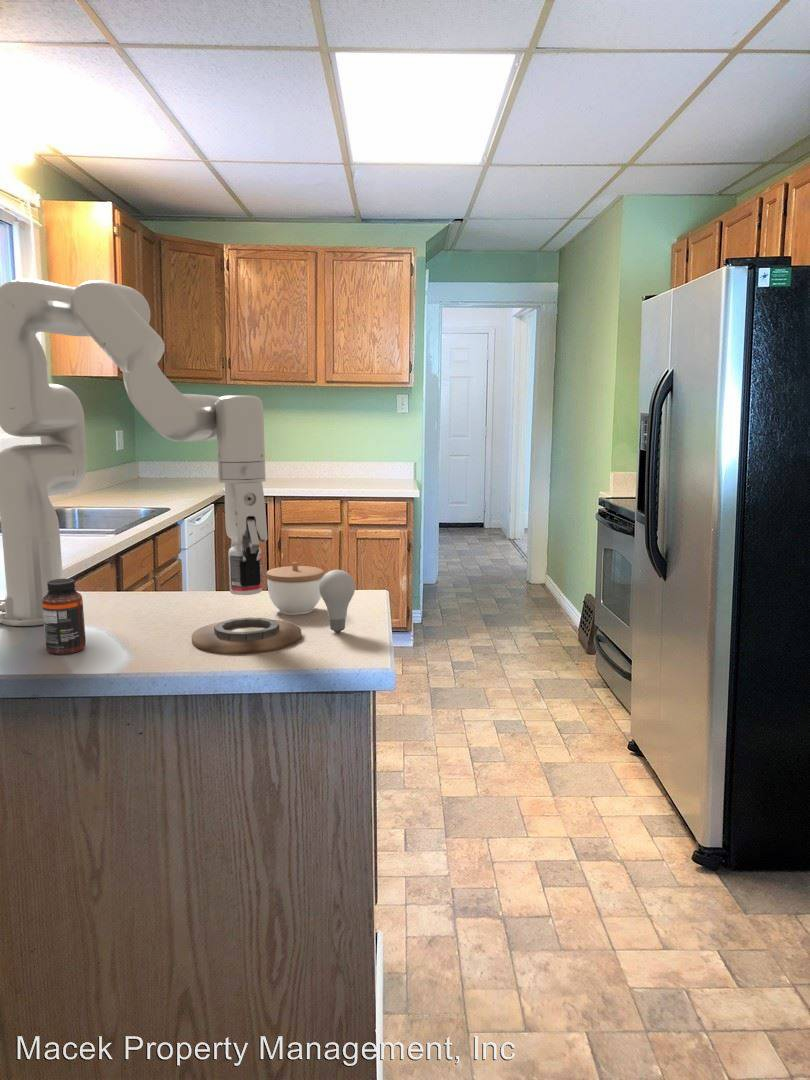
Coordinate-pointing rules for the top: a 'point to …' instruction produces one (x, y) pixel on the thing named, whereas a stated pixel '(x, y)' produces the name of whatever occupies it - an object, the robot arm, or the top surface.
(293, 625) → the brown disc with ring
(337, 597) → the lightbulb
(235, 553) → the pill bottle
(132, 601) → the top surface
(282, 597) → the lidded jar
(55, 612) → the supplement bottle
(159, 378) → the robot arm
